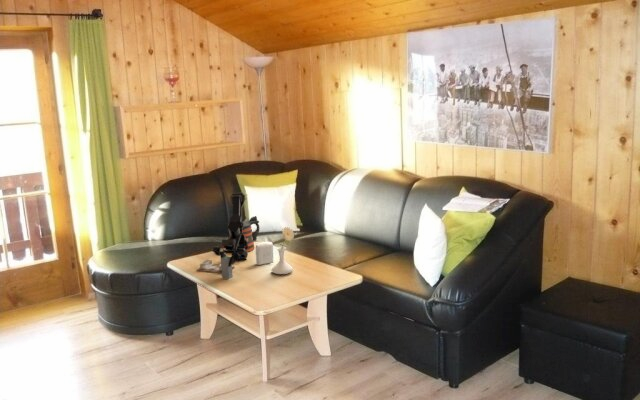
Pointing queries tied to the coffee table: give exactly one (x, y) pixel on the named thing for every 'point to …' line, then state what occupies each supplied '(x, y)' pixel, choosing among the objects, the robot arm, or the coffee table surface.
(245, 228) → the beer stein
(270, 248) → the photo printer
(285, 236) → the flower in vase
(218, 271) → the board
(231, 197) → the robot arm
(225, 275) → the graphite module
